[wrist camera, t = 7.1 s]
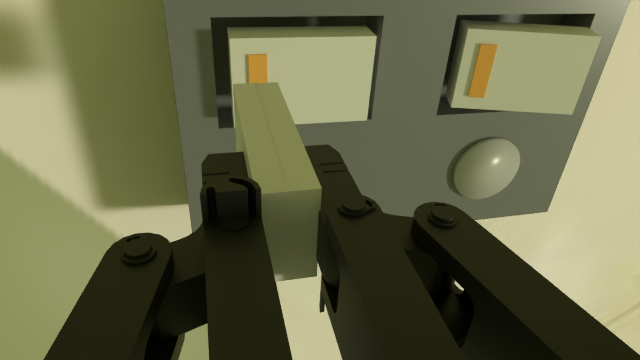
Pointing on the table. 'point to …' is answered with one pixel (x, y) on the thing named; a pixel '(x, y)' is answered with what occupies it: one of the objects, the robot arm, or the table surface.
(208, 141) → the switch panel
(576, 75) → the rocker
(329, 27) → the pale rectangular block
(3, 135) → the table surface
